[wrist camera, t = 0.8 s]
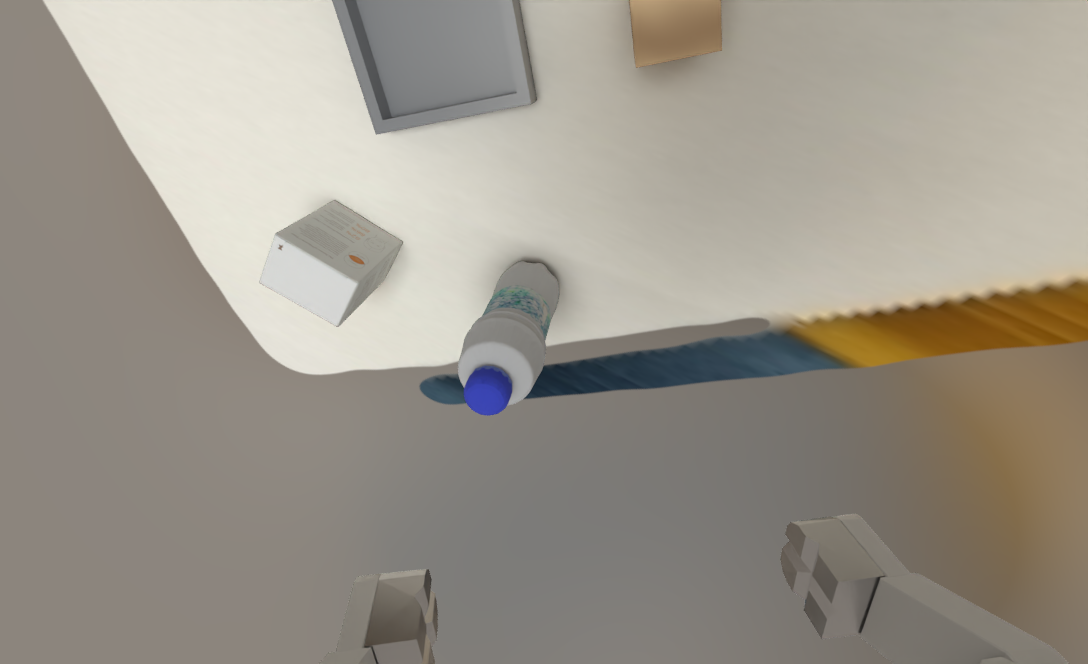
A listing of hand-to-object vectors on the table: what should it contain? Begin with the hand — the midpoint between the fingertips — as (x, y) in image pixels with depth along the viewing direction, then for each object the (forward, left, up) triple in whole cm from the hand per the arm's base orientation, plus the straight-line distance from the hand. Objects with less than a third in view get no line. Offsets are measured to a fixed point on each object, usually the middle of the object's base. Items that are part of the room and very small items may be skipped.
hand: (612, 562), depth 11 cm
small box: (+3, -28, -40) cm, 49 cm away
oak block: (-11, +4, -40) cm, 42 cm away
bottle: (+10, -11, -40) cm, 43 cm away
